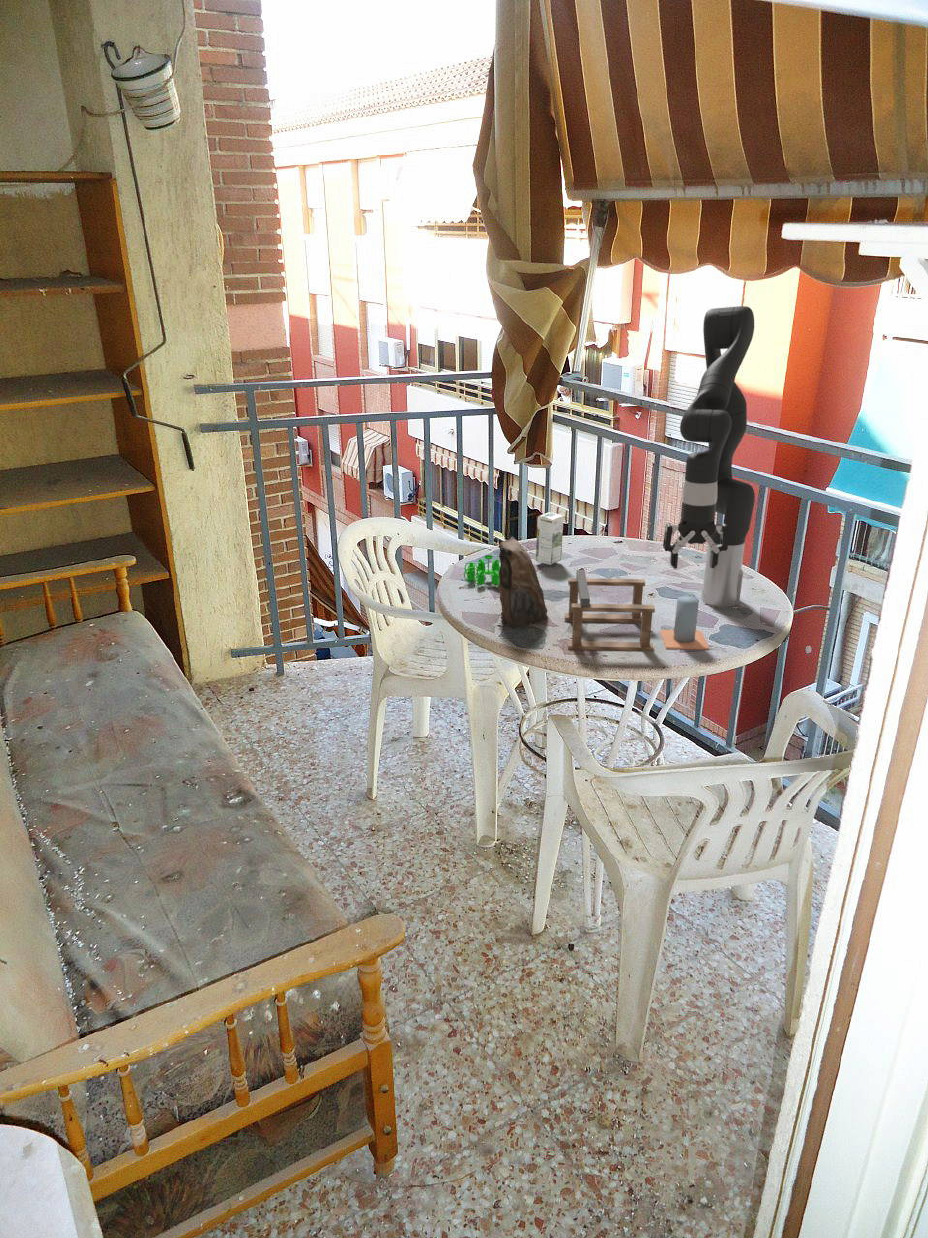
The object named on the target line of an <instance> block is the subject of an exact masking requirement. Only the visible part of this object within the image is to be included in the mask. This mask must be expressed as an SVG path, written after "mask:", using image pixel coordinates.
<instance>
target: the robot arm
mask: <svg viewBox="0 0 928 1238" xmlns="http://www.w3.org/2000/svg"><path fill="white" fill-rule="evenodd" d="M702 329H703V331H702V332H703V345H704V354H705V366H706V370H705V371H704V373H703V375H702V376H701V380H700V382H699V387H698V391H697V394H696V396H695V397H694V399H693V401H692V402H691V404H690V405H689V406H688V408H687V409H686V411H685V412H684V414H683V416H682V418H681V421H680V425H679V432H680V435H681V437H682V438H683V440H685V441H687V442H691V443H704V444H705V443H706V444H708V447H707V448H708V449H706V450H701V451H695V452H692V453H690V454H688V455H687V456H686V462H685V473H684V474H685V475H684V482H683V487H682V498H681V508H680V509H681V510H680V520H679V523H678V524H671V523H670V522H668V523H666V524H665V528H664V535H663V543H662V547H663V548H664V551H665V552H670V558H669V559H670V561H669V562H670V565H671V567H672V568H673V569H674V570H675V569H678V562H679V553H678V552H679V551H680V550H681V549H682V548H684V547H685V546H686V544H687V543H688V544H689V545H693V544H699V545H703V544H705V543H706V542H707V548H706V549H707V550H706V558H705V565H704V566H705V567H704V573H703V574H704V576H703V584H702V592H701V601H702V602H703V603H704V604H706V605H709V606H712V607H717V608H727V607H733V606H739V605H740V599H741V594H742V585H743V578H744V571H743V570H742V568H743V567H742V566H743V560H744V559H743V558H744V550H745V544H746V537H747V536H748V533H749V531H750V528H751V524H752V518H753V517H752V516H753V512H754V507H755V499H756V498H755V497H756V496H755V489H754V488H753V486H752V485H751V484H750V483H748V482H745V481H743V480H738V479H735V478H733V471H732V469H733V468H732V467H733V459H734V458H733V457H734V455H735V452H736V450H737V449H738V447H739V445H740V443H742V442H741V441H742V439H743V438H744V436H745V433H746V430H747V423H748V421H747V418H748V414H747V413H748V412H747V408H748V407H747V405H748V404H747V400H746V397H745V395H744V393H743V392H742V390H741V389H740V387H739V386H738V385H737V383H736V382H735V379H736V376H737V373H738V372H739V369H740V368H741V366H742V363H743V362H744V359H745V357H746V355H747V353H748V350H749V348H750V346H751V343H752V340H753V337H754V333H755V315H754V311H753V309H752V308H751V307H749V306H743V305H742V306H741V305H740V306H726V307H717V308H710V309H708V310H707V311H706V312H705V315H704V319H703V328H702ZM725 349H726V350H725ZM721 350H725V351H724V352H723V353H722V351H721ZM716 513H718V514H722V515H723V522H721V524H716V522H715V521H716ZM677 531H678V532H679V534H680V535H679V536H678V537H676V540H675V541H674V542H673V544H672V538H673V537H672V536H673V535H675V534H676V532H677Z"/></svg>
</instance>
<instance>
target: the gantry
mask: <svg viewBox="0 0 928 1238" xmlns="http://www.w3.org/2000/svg"><path fill="white" fill-rule="evenodd" d="M586 580H587V586H596V587H597V586H598V587H599V586H603V587H604V586H605V587H609V586H611V587H613V586H615V587H618V586H619V587H633V591H632V601H631V602H632V603H631V604H628V603H627V604H625V603H624V604H623V603H622V604H619V603H617V604H616V603H615V604H614V603H590V606H589V607H581V605H580V603H579V592H578V586H577V579H576V577H568V578H567V582H568V583H567V584H568V586H569V597H568V598H569V599H568V600H569V601H568V612H567V613H566V612H565V613H564V621H565V622H572V631H571V632H572V635H571V640H567V649H568V650H581V651H583V650H584V651H585V650H586V651H587V650H590V651H593V650H594V651H599V650H600V651H601V650H602V651H655V646H654V644H653V642H652V641H651V633H652V622H653V614H654V613H655V612H656V609H655V606H654V604H642V602H643V591H644V587H646V580H645V578H594V577H593V578H592V577H591V578H590V577H589V578H587V577H586ZM583 612H590V613H583ZM591 612H592V613H591ZM593 612H595V613H593ZM619 613H620V614H619ZM622 613H623V614H622ZM625 613H627V614H625ZM629 613H631V614H629ZM583 622H584V623H585V622H586V623H587V622H588V623H627V624H628V623H632V624H633V623H634V624H635V623H636V624H637V623H640V633H639V634H640V635H639V641H603V640H602V641H598V640H596V641H594V640H582V632H583Z"/></svg>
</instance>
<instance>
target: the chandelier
mask: <svg viewBox="0 0 928 1238" xmlns="http://www.w3.org/2000/svg"><path fill="white" fill-rule="evenodd" d="M484 559H485V560H487V569H486V563H485V561H484V560H483V558H479V559H478V563H477V564H476V563H475V562H471V561H469V562H468V563H466V564H465V566H464V571H463V578H464V579H465V581H467V582H470V583H471V582H474V581H476V583H477V585H478V586H480V587H481V586H482V585H484V584H485V582H486V579H485V577H486V575H491V584H492V585H493V586H495V587H496V586H497V587H498V584H499V581H500V579H499V570H500V566H501V564H500V562H499V561H500V559H498V558H495V559H494V560H493V561H492V563H491V569H490V560H492V559H493V555H491V554H488V555H487V554H486V555H484ZM466 567H467V568H466Z"/></svg>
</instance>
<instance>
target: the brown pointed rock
mask: <svg viewBox="0 0 928 1238" xmlns="http://www.w3.org/2000/svg"><path fill="white" fill-rule="evenodd" d="M498 548H499V555H498V557H499V561H500V562H499V563H500V565H501V566H500V565H499V567H500V570H499V571H498V573H499V584H498V586H497V588H496V589H497V591H498V593H499V601H500V605H501V613H500V615H501V617H500V619H502V620H501V621H502V622H501V623H503V622H504V623H505V624H504V623H503V624H504V625H506V624H508V625H507V626H509V625H510V628H512V627H513V628H512V629H519V628H518V627H520V628H523V627H525V626H529V625H531V624H534V623H538V622H542V621H543V620H546V619H548V618H549V617H548V614H547V613H548V608H547V605H546V602H545V597H544V591H543V588H542V587H541V584H540V581H539V577H538V574H537V571H536V567H535V566H534V564H533V561H532V559H531V557H530V556H529V554H528V552H527V550H526V549H525V547H524V548H523V546H522V544H520V542H519V541H518V540H517V539H515V537H514V536H510V538H509V539H507V540H502V541H501V542H500V543H499V545H498ZM522 626H523V627H522Z"/></svg>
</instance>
